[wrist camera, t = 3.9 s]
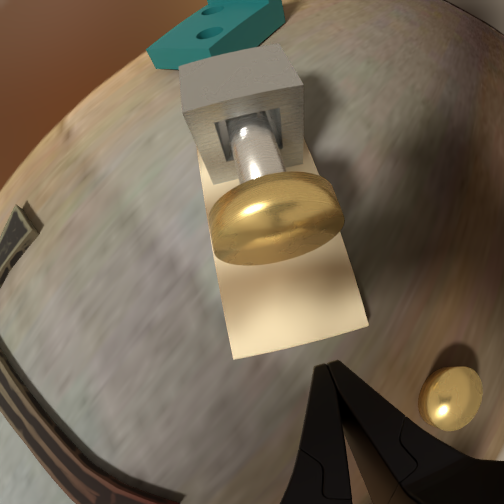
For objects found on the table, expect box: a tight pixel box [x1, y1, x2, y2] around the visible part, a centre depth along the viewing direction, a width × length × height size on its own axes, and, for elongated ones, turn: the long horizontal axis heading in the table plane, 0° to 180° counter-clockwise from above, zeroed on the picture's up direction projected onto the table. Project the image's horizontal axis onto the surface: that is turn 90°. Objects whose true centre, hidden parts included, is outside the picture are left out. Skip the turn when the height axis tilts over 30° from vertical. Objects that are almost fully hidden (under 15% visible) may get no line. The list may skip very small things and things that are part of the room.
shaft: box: [208, 111, 345, 266], centre depth 21 cm, size 17×8×8 cm, turn 12°
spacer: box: [418, 366, 483, 431], centre depth 17 cm, size 5×5×2 cm
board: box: [196, 137, 369, 359], centre depth 25 cm, size 22×10×1 cm, turn 12°
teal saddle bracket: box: [146, 0, 285, 70], centre depth 32 cm, size 18×11×10 cm, turn 150°
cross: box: [0, 205, 180, 504], centre depth 22 cm, size 35×2×45 cm
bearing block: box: [179, 43, 304, 185], centre depth 23 cm, size 6×8×9 cm
